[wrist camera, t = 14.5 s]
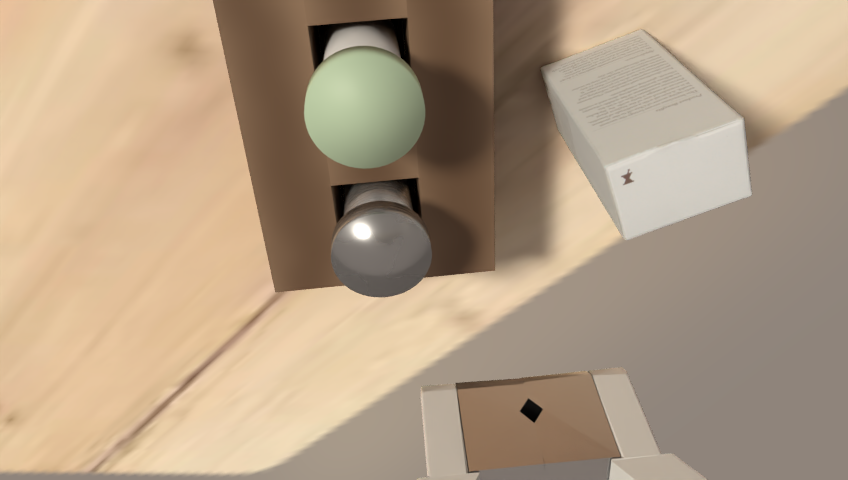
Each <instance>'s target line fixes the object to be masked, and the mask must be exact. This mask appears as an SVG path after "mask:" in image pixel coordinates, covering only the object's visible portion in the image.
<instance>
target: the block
mask: <svg viewBox="0 0 848 480" xmlns="http://www.w3.org/2000/svg"><path fill="white" fill-rule="evenodd" d="M213 3H214V8H215V13H216V17H217V22H218V27H219V31H220V36H221V41H222V45H223V50H224V55H225V59H226V64H227V69H228V73H229V78H230V83H231V87H232V92H233V97H234V101H235V106H236V111H237V115H238V120H239V125H240V129H241V134H242V139H243V143H244V148H245V153H246V157H247V162H248V167H249V171H250V176H251V181H252V185H253V190H254V195H255V199H256V204H257V209H258V213H259V218H260V223H261V227H262V232H263V237H264V241H265V246H266V251H267V255H268V260H269V265H270V269H271V274H272V279H273V283H274V288H275V292H284V291H294V290H304V289H314V288H324V287H334V286H344V284H343V283H342V282H341V281H340V280H339V278H338V277H337V276H336V274H335V272H334V270H333V267H332V263H331V240H332V234H333V231H334V228H335V226H336V225H337V223H338V221H339V220H340V219H341V218H342V217H343V216H344V201H342V197H341V190H340V185H344V184H355V183H366V182H376V181H387V180H398V179H408V178H414V184H415V195H411V200H412V207H413V211H414V212H416V213H417V214H418V215H419V216H420V217H421V218H422V220H423V221H424V223H425V225H426V227H427V229H428V232H429V237H430V243H431V250H432V259H431V264H430V267H429V269H428V271H427V273H426V275H425V276H424V277H434V276H444V275H454V274H464V273H474V272H485V271H495V216H494V53H493V0H213ZM395 18H402V24H403V37H404V51H405V62H406V63H407V64H408V65H409V66H410V67H411V69H412V70H413V71H414V73H415V75H416V76H417V78H418V81H419V83H420V86H421V90H422V94H423V98H424V104H425V121H424V126H423V129H422V132H421V134H420V137H419V138H418V140H417V142H416V143H415V145H414V146H413V147H412V148H411V149H410V150H409V151H408V152H407V153H406V154H405V155H404V156H402V157H401V158H400V159H398V160H396V161H394V162H392V163H390V164H387V165H385V166H381V167H376V168H365V169H363V168H354V167H349V166H346V165H343V164H340V163H338V162H336V161H334V160H332V159H331V158H329V157H328V156H326V155H325V154H324V153H323V152H322V151H321V150H320V149H319V148H318V147H317V146H316V145H315V143H314V142H313V141H312V139H311V137H310V135H309V133H308V130H307V128H306V123H305V118H304V105H305V97H306V91H307V86H308V83H309V80H310V78H311V76H312V74H313V73H314V71H315V70H316V68H317V67H318V66H319V65H320V64H321V63H322V62H323V60H322V53H321V46H320V39H319V32H318V25H324V24H336V23H348V22H360V21H372V20H383V19H395Z"/></svg>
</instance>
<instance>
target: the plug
mask: <svg viewBox="0 0 848 480" xmlns="http://www.w3.org/2000/svg"><path fill="white" fill-rule="evenodd" d="M431 259H432V250H431V243H430V237H429V232H428V229H427V227H426V225H425V223H424V221H423V220H422V218H421V217H420V216H419V215H418V214H417V213H416V212H414V211H413V207H412V200H411V193H410V186H409V180H408V179H398V180H387V181H376V182H366V183H355V184H344V216H343V217H342V218H341V219H340V220H339V221H338V223H337V225H336V226H335V228H334V231H333V234H332V240H331V263H332V267H333V270H334V272H335V274H336V276H337V277H338V278H339V280H340V281H341V282H342V283H343V284H344V285H345V286H347V287H348V288H349V289H351V290H353V291H355V292H357V293H359V294H362V295H366V296H371V297H389V296H394V295H398V294H401V293H403V292H406V291H408V290H410V289H411V288H413V287H414V286H415V285H417V284H418V283H419V282H420V281H421V280H422V279H423V278H424V276H425V275H426V273H427V271H428V269H429V267H430V264H431Z"/></svg>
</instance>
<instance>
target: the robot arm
mask: <svg viewBox="0 0 848 480" xmlns="http://www.w3.org/2000/svg"><path fill="white" fill-rule="evenodd" d="M421 405H422V417H423V429H424V441H425V452H426V464H427V476H428V477H426V478H418V479H417V480H708V479H706V478H705V477H704V476H702V475H701V474H700V473H698V472H697V471H695V470H694V469H693V468H691V467H690V466H689V465H687V464H686V463H685V462H683V461H682V460H681V459H679V458H678V457H676V456H675V455H674V454H662V453H661V451H660V448H659V446H658V444H657V441H656V439H655V437H654V434H653V432H652V430H651V427H650V425H649V423H648V420H647V418H646V415H645V413H644V411H643V408H642V406H641V404H640V401H639V399H638V397H637V394H636V392H635V390H634V387H633V385H632V383H631V381H630V378H629V376H628V373H627V371H625V370H624V369H623V368H622V367H618V368H609V369H600V370H590V371H588V372H587V371H580V372H571V373H562V374H552V375H542V376H533V377H524V378H519V379H506V380H491V381H477V382H464V383H456V386H455V384H445V385H431V386H421Z"/></svg>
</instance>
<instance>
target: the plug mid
mask: <svg viewBox="0 0 848 480" xmlns="http://www.w3.org/2000/svg"><path fill="white" fill-rule="evenodd" d="M304 118H305V123H306V128H307V130H308V133H309V135H310V137H311V139H312V141H313V142H314V143H315V145H316V146H317V147H318V148H319V149H320V150H321V151H322V152H323V153H324V154H325V155H326V156H328V157H329V158H331V159H332V160H334V161H336V162H338V163H340V164H343V165H346V166H349V167H354V168H363V169H365V168H376V167H381V166H385V165H387V164H390V163H392V162H394V161H396V160H398V159H400V158H401V157H402V156H404V155H405V154H406V153H407V152H408V151H409V150H410V149H411V148H412V147H413V146H414V145H415V143H416V142H417V140H418V138H419V137H420V134H421V132H422V129H423V126H424V121H425V104H424V98H423V94H422V90H421V86H420V83H419V81H418V78H417V76H416V75H415V73H414V71H413V70H412V69H411V67H410V66H409V65H408V64H407V63H406V62H405V61H404V60H403V59H401V56H400V50H399V45H398V39H397V34H396V30H395V27H394V25H393V23H392V21H391V20H390V19H383V20H372V21H360V22H348V23H336V24H329V25H328V27H327V30H326V35H325V48H324V60H323V62H322V63H321V64H320V65H319V66H318V67H317V68H316V70H315V71H314V73H313V74H312V76H311V78H310V80H309V83H308V86H307V91H306V97H305V105H304Z"/></svg>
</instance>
